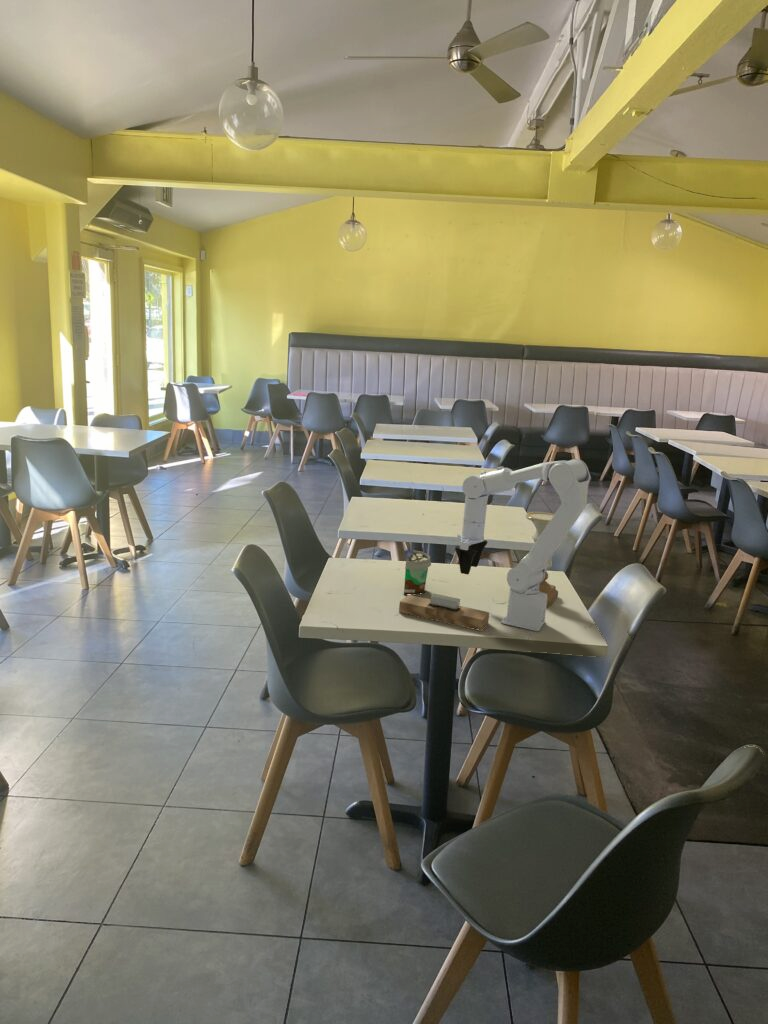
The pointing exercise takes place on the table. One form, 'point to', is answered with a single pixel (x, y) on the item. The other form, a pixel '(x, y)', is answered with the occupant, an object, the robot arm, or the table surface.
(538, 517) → the candle holder
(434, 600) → the grey block
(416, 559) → the food container
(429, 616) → the brown slotted holder
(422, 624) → the table surface
